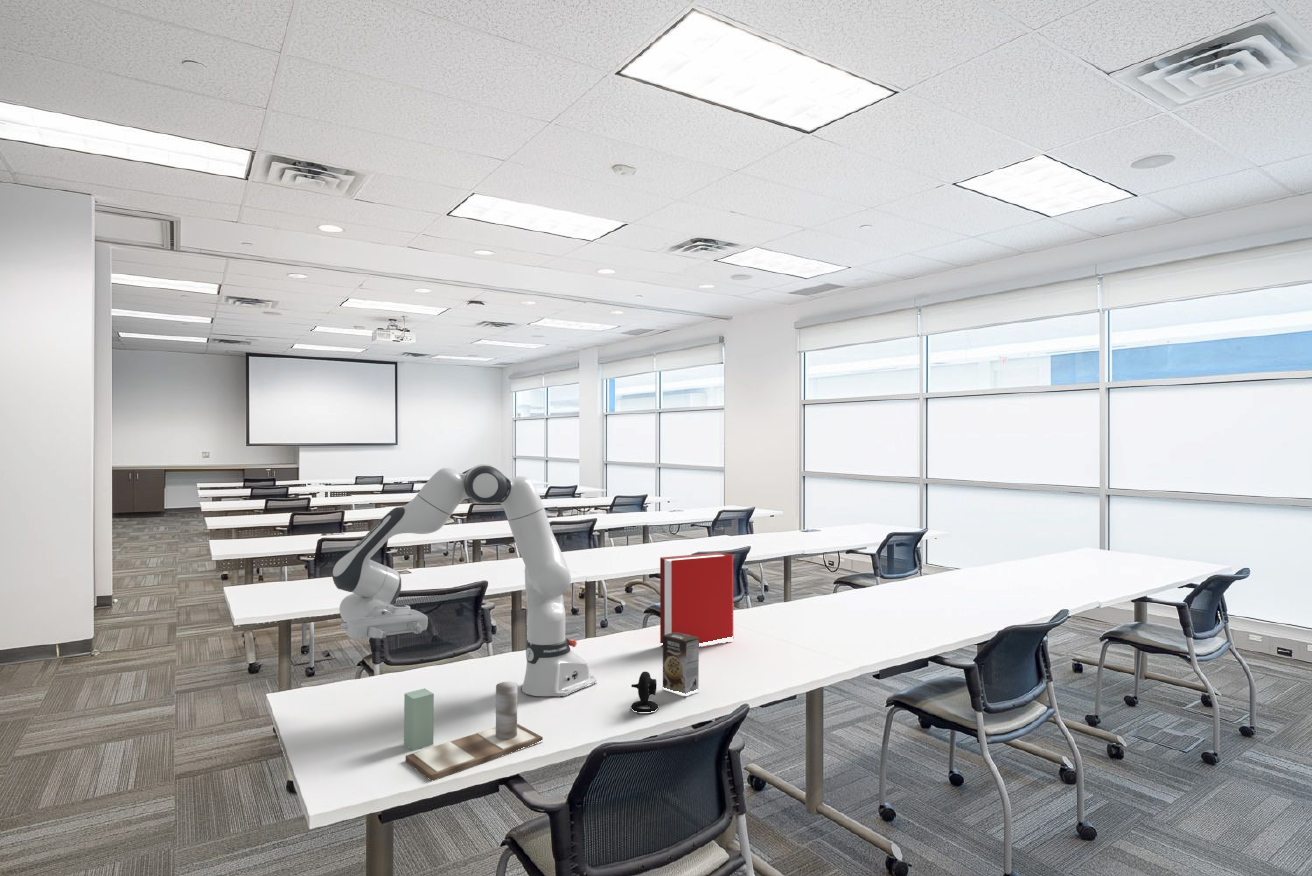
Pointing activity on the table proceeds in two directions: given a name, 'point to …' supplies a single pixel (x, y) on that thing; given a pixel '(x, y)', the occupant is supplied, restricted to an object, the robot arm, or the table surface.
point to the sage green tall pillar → (418, 719)
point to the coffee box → (680, 662)
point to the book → (697, 595)
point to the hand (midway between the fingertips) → (401, 632)
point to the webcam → (645, 693)
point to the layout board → (478, 741)
